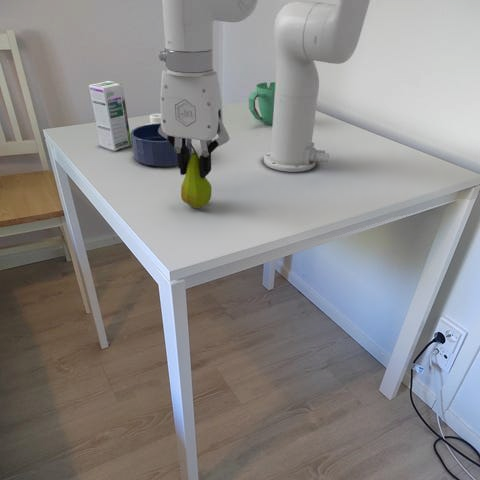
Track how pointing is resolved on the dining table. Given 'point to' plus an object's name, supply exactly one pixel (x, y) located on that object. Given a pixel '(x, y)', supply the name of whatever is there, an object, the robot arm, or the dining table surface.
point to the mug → (263, 102)
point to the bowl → (154, 146)
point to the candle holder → (155, 119)
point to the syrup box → (110, 114)
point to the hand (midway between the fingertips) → (195, 173)
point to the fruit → (195, 184)
